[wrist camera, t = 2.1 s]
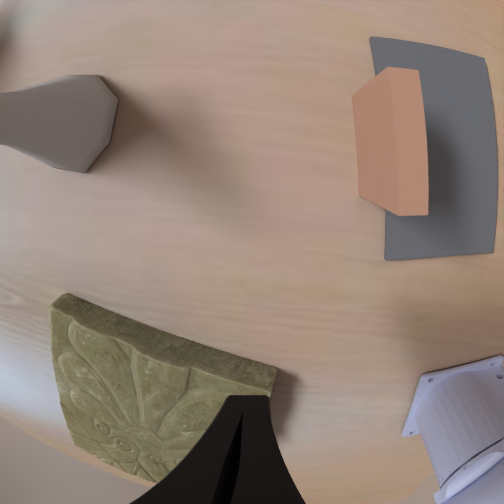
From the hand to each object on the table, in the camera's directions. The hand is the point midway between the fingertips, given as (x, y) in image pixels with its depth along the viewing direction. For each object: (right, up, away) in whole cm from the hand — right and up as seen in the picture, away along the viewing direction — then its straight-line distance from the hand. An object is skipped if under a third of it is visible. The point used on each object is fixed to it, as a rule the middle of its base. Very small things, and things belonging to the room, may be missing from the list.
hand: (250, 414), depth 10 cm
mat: (+12, +12, +6) cm, 18 cm away
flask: (-12, +15, +8) cm, 21 cm away
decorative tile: (-9, -9, +15) cm, 20 cm away
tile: (+7, +12, +7) cm, 15 cm away
